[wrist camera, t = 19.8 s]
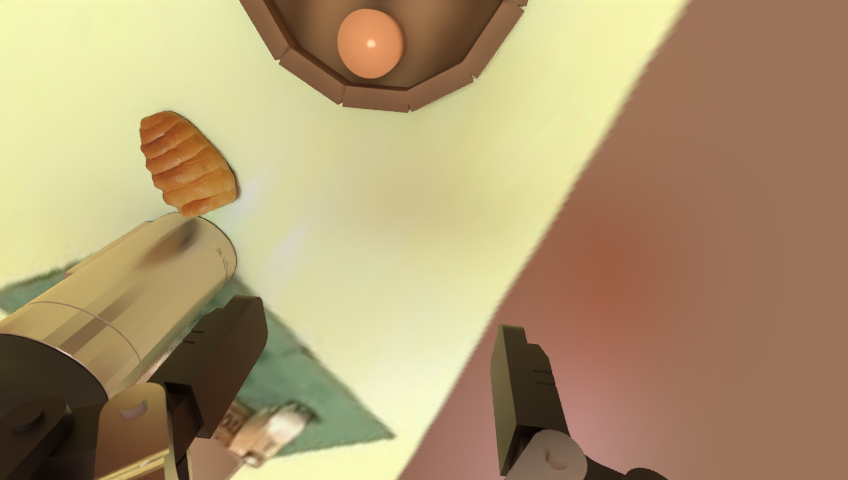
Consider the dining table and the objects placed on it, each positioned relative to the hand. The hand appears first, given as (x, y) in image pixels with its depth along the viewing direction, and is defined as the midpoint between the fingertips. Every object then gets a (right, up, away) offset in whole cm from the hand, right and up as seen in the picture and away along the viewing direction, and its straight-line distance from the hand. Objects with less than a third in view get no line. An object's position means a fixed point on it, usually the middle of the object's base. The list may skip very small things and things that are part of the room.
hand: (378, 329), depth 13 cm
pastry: (-20, +10, +23) cm, 32 cm away
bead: (-2, +18, +15) cm, 24 cm away
